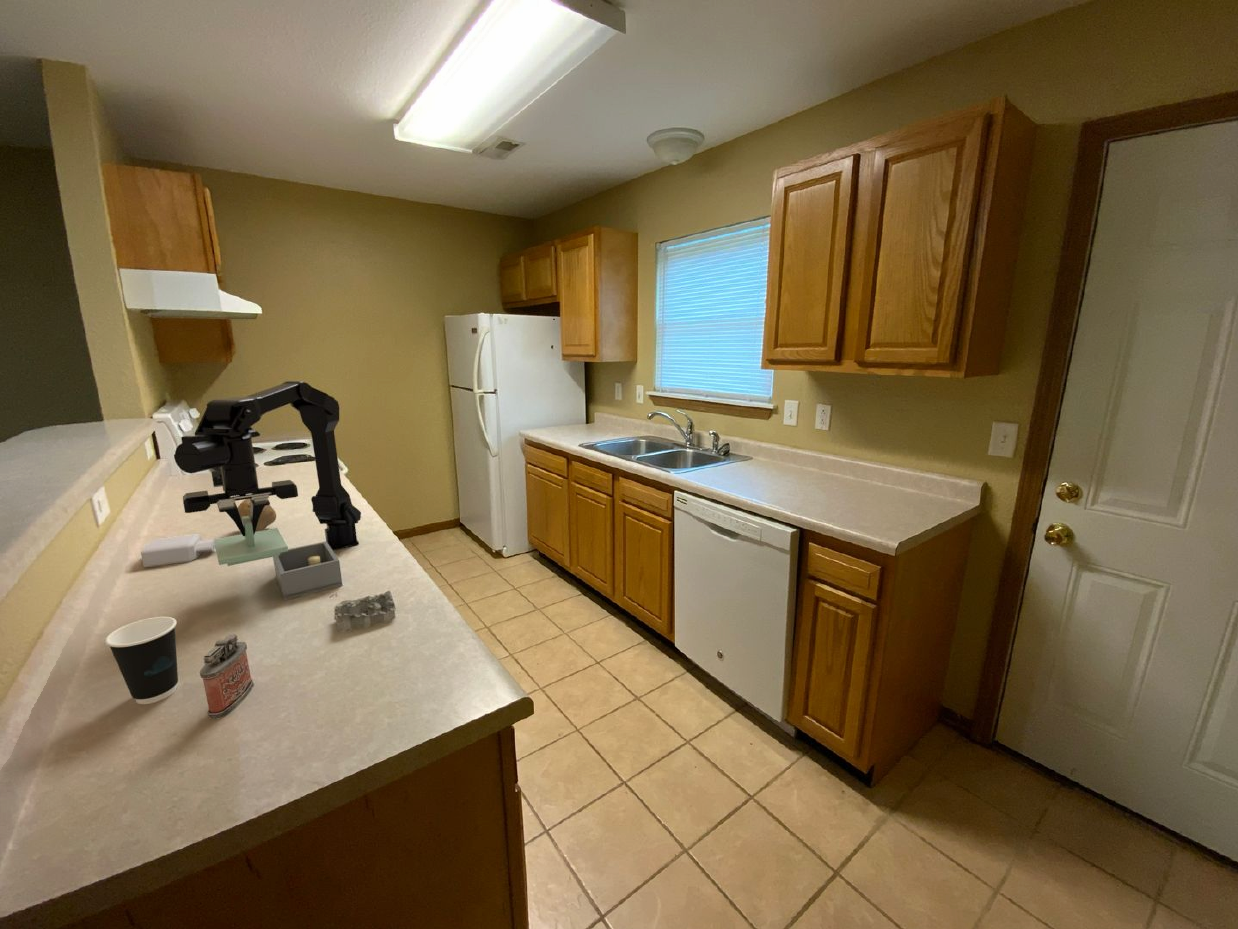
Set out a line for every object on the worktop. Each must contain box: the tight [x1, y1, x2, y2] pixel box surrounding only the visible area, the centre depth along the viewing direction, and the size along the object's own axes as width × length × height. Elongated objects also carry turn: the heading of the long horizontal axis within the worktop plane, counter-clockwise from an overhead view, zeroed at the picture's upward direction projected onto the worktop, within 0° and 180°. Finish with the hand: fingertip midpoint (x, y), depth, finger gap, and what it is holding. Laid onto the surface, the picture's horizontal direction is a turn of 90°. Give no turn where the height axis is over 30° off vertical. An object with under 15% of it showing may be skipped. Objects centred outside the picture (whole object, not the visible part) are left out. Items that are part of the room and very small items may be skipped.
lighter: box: [199, 633, 255, 720], centre depth 78 cm, size 8×3×10 cm, turn 5°
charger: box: [140, 533, 216, 569], centre depth 129 cm, size 5×9×15 cm
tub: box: [272, 540, 343, 601], centre depth 116 cm, size 11×14×6 cm
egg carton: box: [333, 590, 396, 633], centre depth 101 cm, size 11×8×4 cm
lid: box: [213, 516, 289, 567], centre depth 108 cm, size 11×14×7 cm
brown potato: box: [237, 499, 277, 532], centre depth 145 cm, size 9×9×10 cm
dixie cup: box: [104, 616, 179, 705], centre depth 79 cm, size 8×8×11 cm
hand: (248, 535), depth 108 cm, fingers closed on lid
